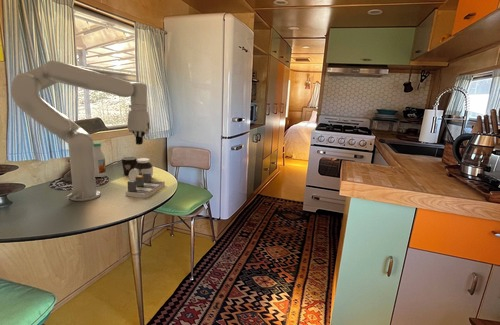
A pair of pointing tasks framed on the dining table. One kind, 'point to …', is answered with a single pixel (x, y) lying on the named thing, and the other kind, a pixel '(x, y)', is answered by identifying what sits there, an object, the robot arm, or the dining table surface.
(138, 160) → the spread jar
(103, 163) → the milk bottle
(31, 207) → the dining table surface
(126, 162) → the coffee mug
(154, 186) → the small tray
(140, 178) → the breaker
